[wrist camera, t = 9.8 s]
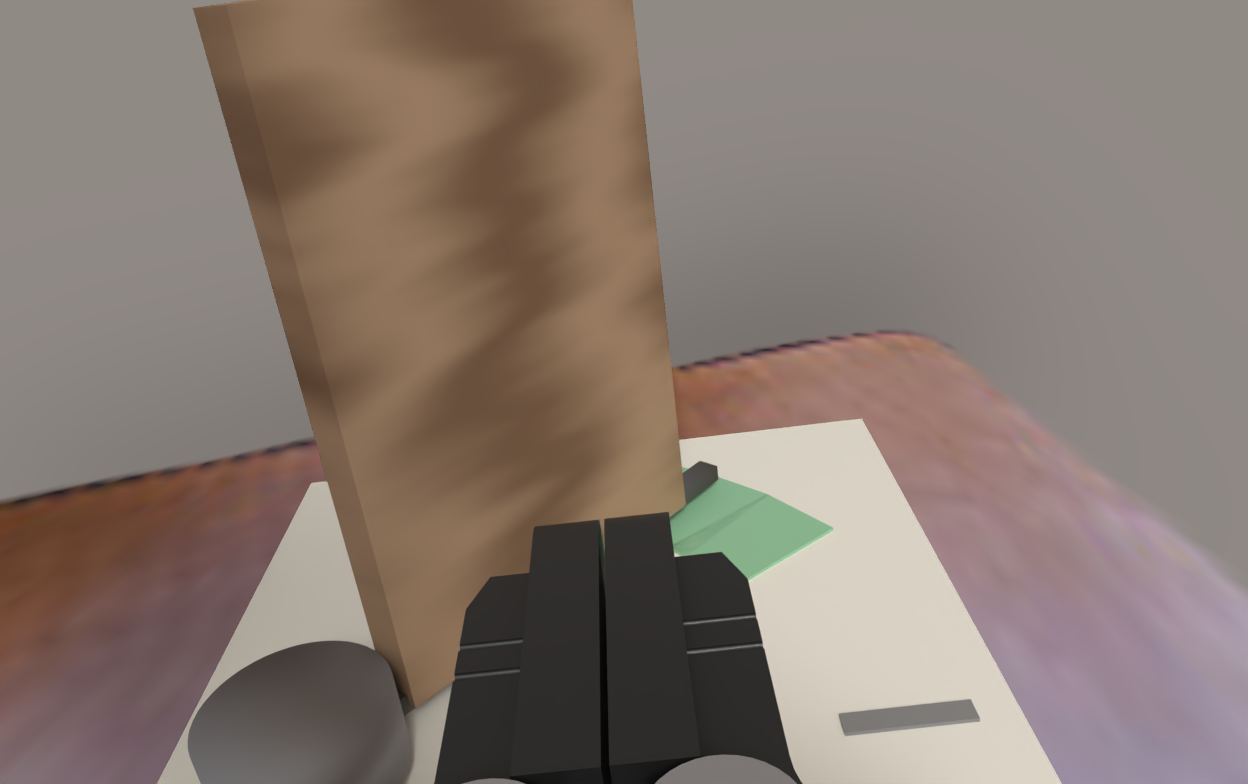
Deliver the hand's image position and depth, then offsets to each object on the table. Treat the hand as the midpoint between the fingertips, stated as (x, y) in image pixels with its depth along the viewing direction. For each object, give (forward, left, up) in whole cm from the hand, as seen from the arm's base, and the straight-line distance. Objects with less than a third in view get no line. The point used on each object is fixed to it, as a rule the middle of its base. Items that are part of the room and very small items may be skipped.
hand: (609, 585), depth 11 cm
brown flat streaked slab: (-9, +9, -10) cm, 16 cm away
